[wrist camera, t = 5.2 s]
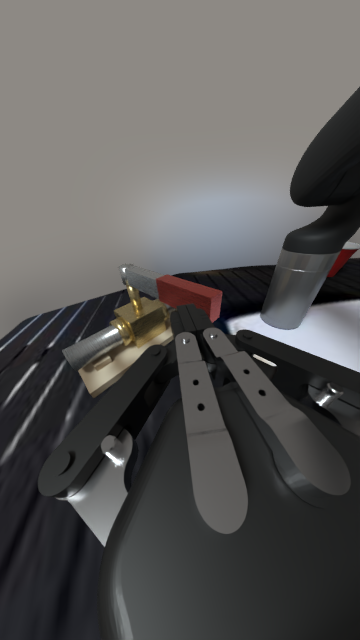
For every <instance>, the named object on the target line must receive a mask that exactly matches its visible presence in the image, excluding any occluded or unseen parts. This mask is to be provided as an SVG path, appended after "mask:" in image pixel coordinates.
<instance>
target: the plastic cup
mask: <svg viewBox="0 0 360 640" xmlns="http://www.w3.org/2000/svg"><path fill="white" fill-rule="evenodd" d="M358 249H360V244H356V243H352V242H346V243H345V245H344V247H343V248H342V250H341V251H340V254H339V255H338V257H337V259H336V261H335V263H334V264H333V266H332V268H331V270H330V272H329V273H328V275H327V277H333V276H334V275H335V274H336V273H337V272H338V271H339V269H340V268H342V266H343V265H344V264H345V263H346V262H347V261H348V259H349V258H350V257H351V256H352V255H353V254H354V253H355V252H356V251H357V250H358Z"/></svg>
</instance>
